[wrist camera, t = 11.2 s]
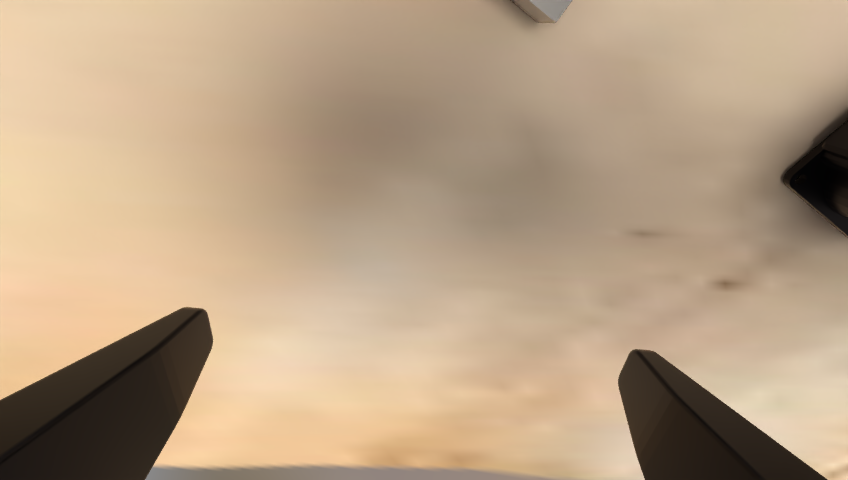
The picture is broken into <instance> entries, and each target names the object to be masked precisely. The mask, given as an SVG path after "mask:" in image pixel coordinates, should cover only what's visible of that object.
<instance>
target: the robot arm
mask: <svg viewBox="0 0 848 480" xmlns="http://www.w3.org/2000/svg"><path fill="white" fill-rule="evenodd" d="M799 175H800V177H799V178H798V179H797V180H796V181H795V179H796V178H797V177H798V176H799ZM783 182H784V184H785V185H786V186H787V187H789V188H790V189H791V190H792V191H793V192H794V193H796V194H797V195H798V196H799V197H800V198H801V199H803V200H804V201H805V202H806V203H807V204H809V205H810V206H811V207H812V208H813V209H814V210H816V211H817V212H818V213H819V214H820V215H822V216H823V217H824V218H825V219H826V220H827V221H829V222H830V223H831V224H832V225H833V226H834V227H836V228H837V229H838V230H839V231H840V232H842V233H843V234H844V235H845V236H846V237H847V238H848V120H847V121H846V122H845V123H844V124H843V125H841V126H840V127H839V128H838V129H837V130H836V131H834V132H833V133H832V134H831V135H830V136H829V137H827V138H826V139H825V140H824V141H823V142H822V143H820V144H819V145H818V146H817V147H816V148H815V149H813V150H812V151H811V152H810V153H809V154H808V155H806V156H805V157H804V158H803V159H802V160H801V161H799V162H798V163H797V164H796V165H795V166H794V167H792V168H791V169H790V170H789V171H788V172H787V173H786V174H785V176H784V178H783ZM212 345H213V336H212V332H211V327H210V323H209V318H208V314H207V312H206V311H205V310H204V309H201V308H191V307H184V308H181V309H179V310H177V311H175V312H173V313H171V314H169V315H167V316H165V317H163V318H161V319H159V320H157V321H156V322H154V323H152V324H150V325H148V326H146V327H144V328H142V329H140V330H138V331H136V332H134V333H132V334H130V335H128V336H126V337H124V338H122V339H120V340H118V341H116V342H114V343H112V344H110V345H108V346H106V347H104V348H102V349H100V350H98V351H96V352H94V353H92V354H90V355H88V356H86V357H84V358H82V359H80V360H78V361H77V362H75V363H73V364H71V365H69V366H67V367H65V368H63V369H61V370H59V371H57V372H55V373H53V374H51V375H49V376H47V377H45V378H43V379H41V380H39V381H37V382H35V383H33V384H31V385H29V386H27V387H25V388H23V389H21V390H19V391H17V392H15V393H13V394H11V395H9V396H7V397H5V398H3V399H1V400H0V480H145V479H146V477H147V475H148V473H149V472H150V470H151V468H152V466H153V465H154V463H155V461H156V460H157V458H158V456H159V454H160V453H161V451H162V449H163V447H164V446H165V444H166V442H167V441H168V439H169V437H170V435H171V434H172V432H173V430H174V428H175V427H176V425H177V423H178V421H179V419H180V417H181V415H182V413H183V411H184V409H185V407H186V405H187V403H188V400H189V398H190V396H191V394H192V391H193V389H194V387H195V385H196V383H197V380H198V378H199V376H200V374H201V371H202V369H203V367H204V365H205V362H206V360H207V358H208V356H209V353H210V351H211V349H212ZM618 386H619V390H620V394H621V398H622V402H623V406H624V410H625V414H626V417H627V421H628V425H629V429H630V433H631V437H632V440H633V444H634V448H635V451H636V455H637V458H638V461H639V464H640V467H641V470H642V472H643V475H644V478H645V480H827V479H826V478H825V477H823V476H822V475H821V474H819V473H818V472H816V471H815V470H814V469H812V468H811V467H810V466H808V465H807V464H806V463H804V462H803V461H802V460H800V459H799V458H798V457H796V456H795V455H794V454H792V453H791V452H789V451H788V450H787V449H785V448H784V447H783V446H781V445H780V444H779V443H777V442H776V441H775V440H773V439H772V438H771V437H769V436H768V435H767V434H765V433H764V432H762V431H761V430H760V429H758V428H757V427H756V426H754V425H753V424H752V423H750V422H749V421H748V420H746V419H745V418H744V417H742V416H741V415H740V414H738V413H737V412H735V411H734V410H733V409H731V408H730V407H729V406H727V405H726V404H725V403H723V402H722V401H721V400H719V399H718V398H717V397H715V396H714V395H713V394H711V393H710V392H708V391H707V390H706V389H704V388H703V387H702V386H700V385H699V384H698V383H696V382H695V381H694V380H692V379H691V378H690V377H688V376H687V375H685V374H684V373H683V372H681V371H680V370H679V369H677V368H676V367H675V366H673V365H672V364H671V363H669V362H668V361H667V360H665V359H664V358H663V357H661V356H660V355H658V354H657V353H656V352H654V351H650V350H640V349H635V350H632V351H631V352H630V353H629V355H628V358H627V360H626V362H625V364H624V366H623V368H622V370H621V373H620V375H619V379H618Z"/></svg>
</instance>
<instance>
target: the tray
mask: <svg viewBox="0 0 848 480" xmlns="http://www.w3.org/2000/svg"><path fill="white" fill-rule="evenodd" d="M511 1H512V2H513V3H514V4H516V5H517V6H518V7H519V8H521V9H522V10H523V11H524V12H526V13H527V14H528V15H529V16H530V17H532V18H533V19H534V20H535V21H537V22H538V23H556V22H557V21H558V20H559V18H560V17H561V15H562V14H563V13H564V11H565V10H566V8H567V7H568V6H569V4H570V3H571V1H572V0H511Z"/></svg>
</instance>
